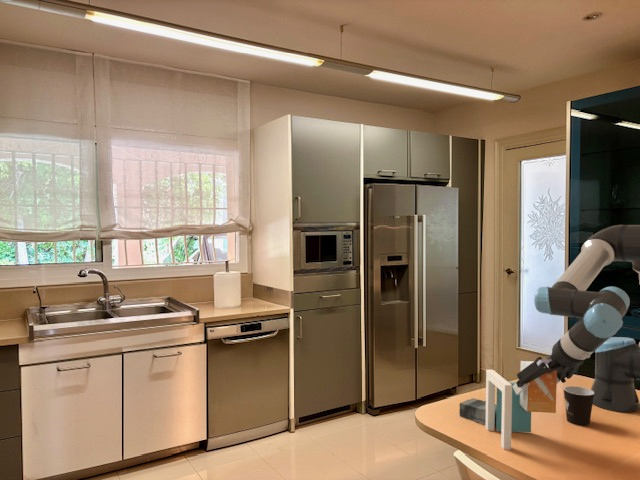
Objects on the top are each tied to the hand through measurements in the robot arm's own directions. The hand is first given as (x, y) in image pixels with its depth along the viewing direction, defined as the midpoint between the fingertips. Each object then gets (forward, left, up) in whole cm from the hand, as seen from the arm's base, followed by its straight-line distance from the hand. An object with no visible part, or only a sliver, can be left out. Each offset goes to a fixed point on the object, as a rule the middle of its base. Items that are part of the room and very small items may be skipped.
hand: (530, 389), depth 141 cm
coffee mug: (-21, -12, -14) cm, 29 cm away
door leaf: (+4, -2, -14) cm, 14 cm away
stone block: (+8, -13, -15) cm, 21 cm away
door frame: (+10, +1, -14) cm, 17 cm away
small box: (-1, +3, -5) cm, 6 cm away
